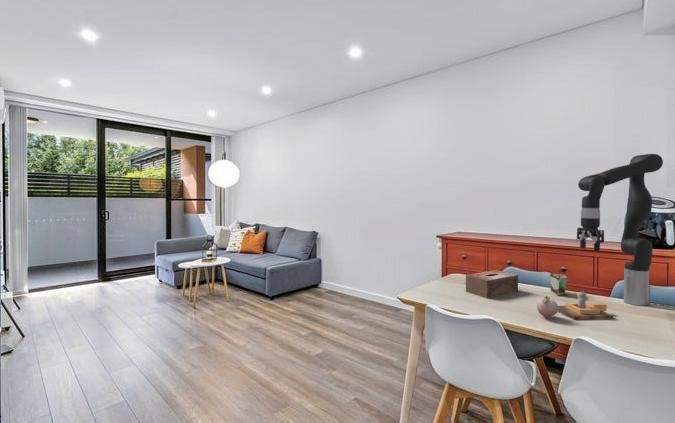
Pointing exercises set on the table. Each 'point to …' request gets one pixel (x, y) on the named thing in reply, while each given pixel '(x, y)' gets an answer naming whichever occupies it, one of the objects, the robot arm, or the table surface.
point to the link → (587, 308)
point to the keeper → (582, 305)
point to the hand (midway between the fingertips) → (589, 249)
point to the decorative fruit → (547, 307)
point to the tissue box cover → (491, 283)
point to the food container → (558, 284)
